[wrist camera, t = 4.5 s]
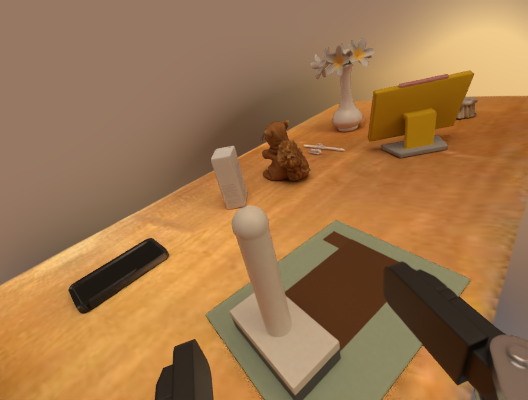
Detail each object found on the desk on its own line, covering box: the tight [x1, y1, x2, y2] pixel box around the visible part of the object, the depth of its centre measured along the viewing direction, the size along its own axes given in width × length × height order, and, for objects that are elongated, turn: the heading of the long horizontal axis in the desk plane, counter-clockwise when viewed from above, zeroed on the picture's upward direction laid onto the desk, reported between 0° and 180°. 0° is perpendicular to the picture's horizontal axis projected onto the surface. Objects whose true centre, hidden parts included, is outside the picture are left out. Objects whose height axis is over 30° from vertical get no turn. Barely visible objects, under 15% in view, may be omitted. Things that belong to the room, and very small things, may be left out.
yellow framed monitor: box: [368, 71, 474, 158], centre depth 61 cm, size 20×8×16 cm, turn 90°
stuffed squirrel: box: [260, 121, 310, 181], centre depth 63 cm, size 10×14×13 cm
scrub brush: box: [229, 206, 341, 400], centre depth 25 cm, size 11×6×18 cm, turn 38°
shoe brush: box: [457, 97, 478, 119], centre depth 82 cm, size 24×8×5 cm, turn 39°
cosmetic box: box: [211, 146, 247, 209], centre depth 57 cm, size 6×4×12 cm
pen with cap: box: [303, 143, 345, 155], centre depth 75 cm, size 14×4×2 cm, turn 45°
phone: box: [69, 238, 169, 313], centre depth 46 cm, size 8×1×15 cm
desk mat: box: [206, 220, 471, 400], centre depth 33 cm, size 20×26×1 cm
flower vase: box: [310, 38, 375, 132], centre depth 81 cm, size 13×18×25 cm
